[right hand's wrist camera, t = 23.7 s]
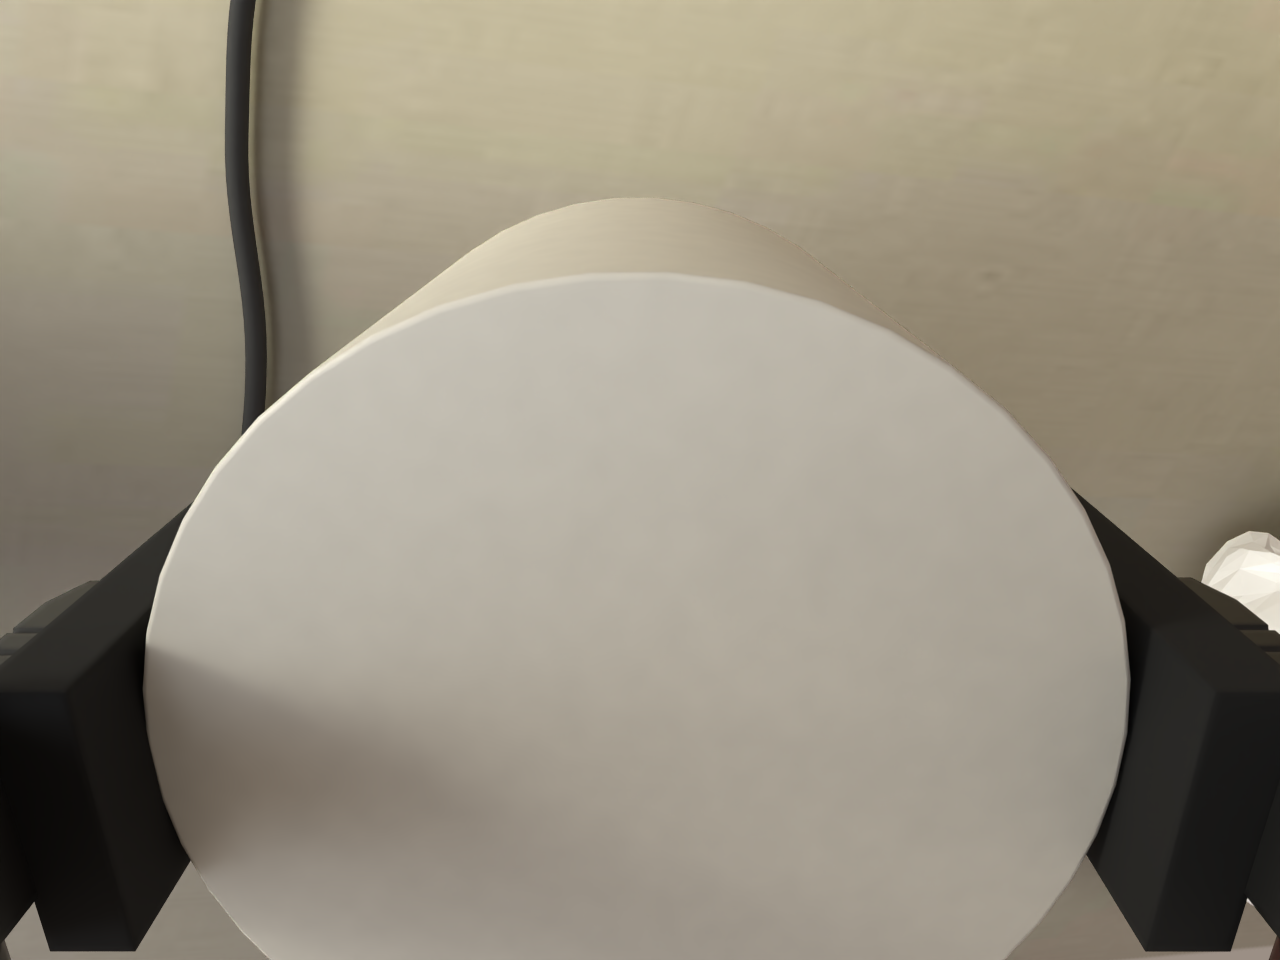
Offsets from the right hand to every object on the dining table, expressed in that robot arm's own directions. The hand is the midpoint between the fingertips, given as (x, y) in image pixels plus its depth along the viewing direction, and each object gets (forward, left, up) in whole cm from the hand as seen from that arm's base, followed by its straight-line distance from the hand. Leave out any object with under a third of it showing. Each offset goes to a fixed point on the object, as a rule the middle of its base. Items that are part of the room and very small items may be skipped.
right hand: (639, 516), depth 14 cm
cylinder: (0, 0, -2) cm, 2 cm away
